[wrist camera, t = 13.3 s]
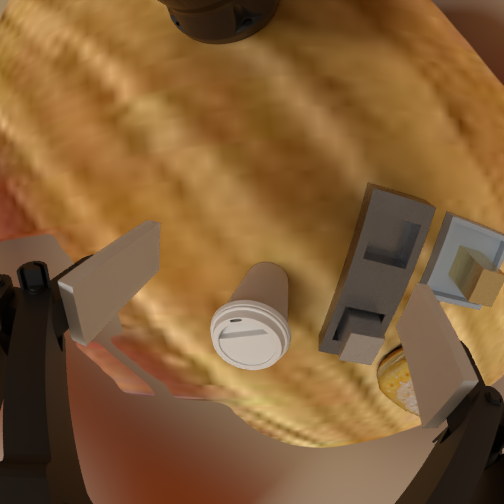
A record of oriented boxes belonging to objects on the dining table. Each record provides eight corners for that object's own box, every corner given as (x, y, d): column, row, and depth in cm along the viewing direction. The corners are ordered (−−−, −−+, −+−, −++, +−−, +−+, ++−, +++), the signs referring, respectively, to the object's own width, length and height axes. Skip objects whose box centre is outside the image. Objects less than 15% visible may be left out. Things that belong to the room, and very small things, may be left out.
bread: (413, 324, 43) (424, 355, 36) (476, 375, 45) (487, 401, 38) (360, 370, 49) (363, 402, 42) (432, 409, 51) (438, 435, 43)
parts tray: (446, 211, 35) (453, 216, 33) (503, 233, 33) (511, 239, 31) (417, 288, 40) (421, 296, 38) (474, 302, 39) (479, 309, 37)
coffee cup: (303, 257, 42) (296, 319, 29) (293, 311, 46) (282, 380, 33) (238, 247, 44) (204, 303, 30) (235, 301, 48) (206, 365, 34)
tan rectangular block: (459, 245, 35) (483, 268, 28) (482, 252, 35) (506, 276, 27) (447, 274, 37) (468, 301, 30) (470, 280, 37) (491, 307, 30)
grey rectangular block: (346, 299, 42) (351, 333, 35) (376, 306, 42) (385, 339, 35) (336, 325, 44) (338, 359, 37) (365, 331, 44) (370, 365, 37)
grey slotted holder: (367, 182, 36) (373, 188, 32) (425, 200, 35) (435, 207, 31) (319, 335, 47) (318, 350, 43) (367, 344, 46) (370, 360, 42)
